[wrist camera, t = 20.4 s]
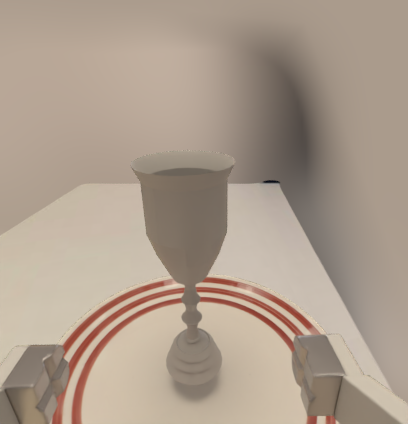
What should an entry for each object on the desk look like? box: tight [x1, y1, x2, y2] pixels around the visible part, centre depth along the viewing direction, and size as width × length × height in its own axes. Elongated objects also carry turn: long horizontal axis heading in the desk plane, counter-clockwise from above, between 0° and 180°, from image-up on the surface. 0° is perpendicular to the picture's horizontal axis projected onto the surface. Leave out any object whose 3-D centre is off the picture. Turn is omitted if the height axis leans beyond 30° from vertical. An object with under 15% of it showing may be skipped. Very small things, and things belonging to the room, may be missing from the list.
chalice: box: [131, 151, 235, 385], centre depth 22 cm, size 7×7×18 cm
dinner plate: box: [49, 274, 339, 424], centre depth 27 cm, size 28×27×3 cm
